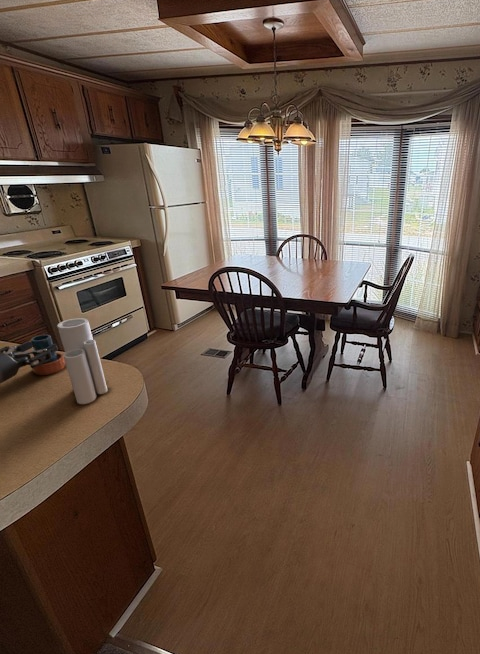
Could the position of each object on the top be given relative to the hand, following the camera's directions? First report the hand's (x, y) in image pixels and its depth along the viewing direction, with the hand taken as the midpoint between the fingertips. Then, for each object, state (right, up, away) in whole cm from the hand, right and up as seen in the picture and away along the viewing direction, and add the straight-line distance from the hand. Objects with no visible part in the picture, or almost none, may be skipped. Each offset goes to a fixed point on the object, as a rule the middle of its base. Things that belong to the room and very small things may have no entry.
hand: (43, 345), depth 102 cm
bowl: (0, -7, +3) cm, 8 cm away
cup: (0, -7, +2) cm, 7 cm away
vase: (+20, -13, -7) cm, 24 cm away
